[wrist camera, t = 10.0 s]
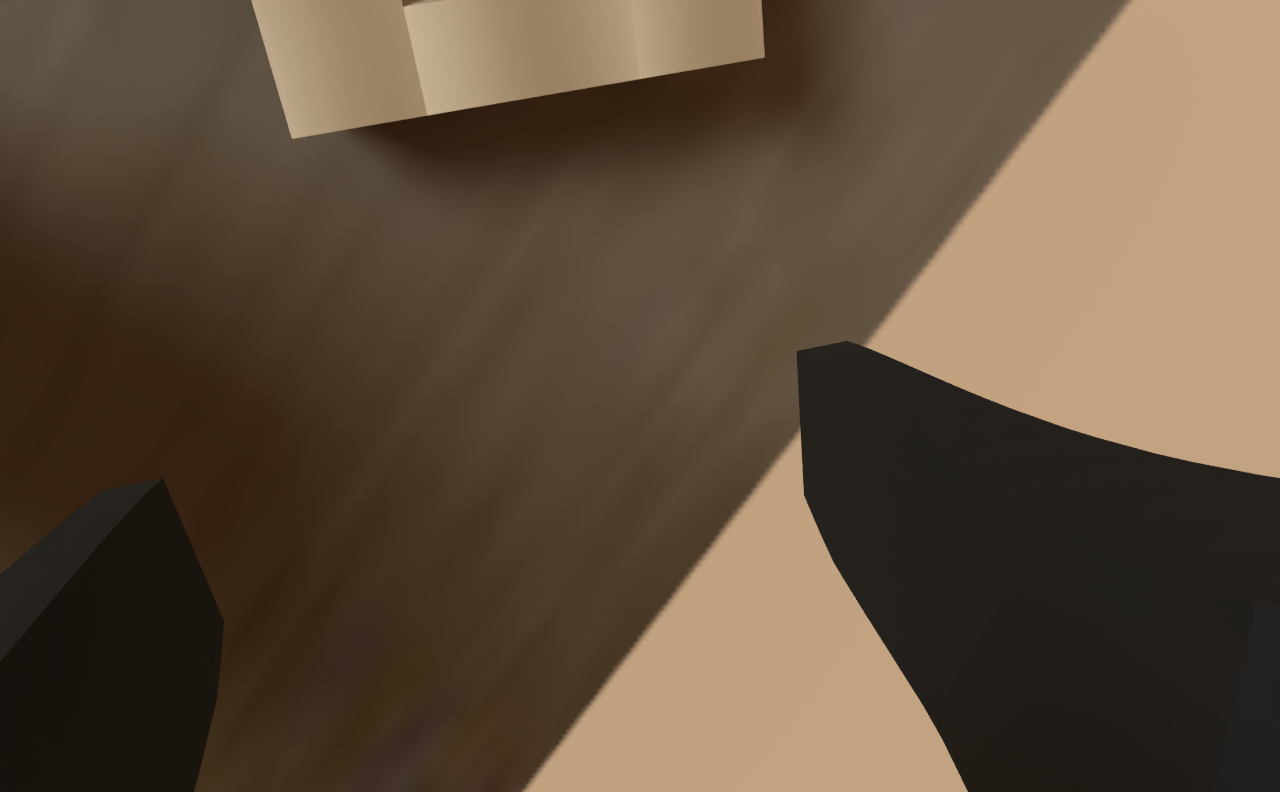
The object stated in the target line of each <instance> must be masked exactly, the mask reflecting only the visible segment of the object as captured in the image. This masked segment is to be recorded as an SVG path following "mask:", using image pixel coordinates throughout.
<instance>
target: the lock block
mask: <svg viewBox="0 0 1280 792" xmlns="http://www.w3.org/2000/svg"><path fill="white" fill-rule="evenodd" d="M251 1H252V4H253V7H254V11H255V14H256V18H257V21H258V24H259V28H260V31H261V35H262V38H263V41H264V45H265V48H266V52H267V55H268V58H269V62H270V65H271V69H272V72H273V75H274V79H275V82H276V86H277V89H278V92H279V96H280V99H281V103H282V106H283V109H284V113H285V116H286V120H287V123H288V126H289V130H290V133H291V137H292V139H294V138H299V137H305V136H311V135H317V134H323V133H328V132H334V131H340V130H346V129H352V128H358V127H363V126H369V125H375V124H381V123H387V122H393V121H398V120H404V119H410V118H416V117H422V116H427V115H433V114H439V113H445V112H451V111H457V110H462V109H468V108H474V107H480V106H486V105H491V104H497V103H503V102H509V101H515V100H521V99H526V98H532V97H538V96H544V95H550V94H555V93H561V92H567V91H573V90H579V89H585V88H590V87H596V86H602V85H608V84H614V83H620V82H625V81H631V80H637V79H643V78H649V77H654V76H660V75H666V74H672V73H678V72H684V71H689V70H695V69H701V68H707V67H713V66H718V65H724V64H730V63H736V62H742V61H748V60H753V59H759V58H765V54H764V37H763V19H762V2H761V0H251Z"/></svg>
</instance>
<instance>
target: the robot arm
mask: <svg viewBox="0 0 1280 792" xmlns="http://www.w3.org/2000/svg"><path fill="white" fill-rule="evenodd" d="M797 368H798V387H799V406H800V426H801V445H802V463H803V483H804V496H805V499H806V501H807V503H808V506H809V508H810V510H811V513H812V515H813V517H814V520H815V522H816V524H817V527H818V529H819V531H820V533H821V535H822V538H823V540H824V542H825V544H826V547H827V548H828V551H829V553H830V555H831V558H832V560H833V562H834V564H835V565H836V567H837V568H838V570H839V572H840V574H841V575H842V577H843V579H844V580H845V582H846V583H847V585H848V587H849V588H850V590H851V592H852V593H853V595H854V596H855V598H856V600H857V601H858V603H859V604H860V606H861V608H862V609H863V611H864V612H865V614H866V616H867V617H868V619H869V620H870V622H871V623H872V625H873V627H874V628H875V630H876V631H877V633H878V635H879V636H880V638H881V639H882V641H883V643H884V644H885V646H886V647H887V649H888V650H889V652H890V653H891V655H892V657H893V658H894V660H895V662H896V663H897V665H898V666H899V668H900V670H901V671H902V673H903V674H904V676H905V677H906V679H907V681H908V682H909V684H910V685H911V687H912V689H913V690H914V692H915V693H916V695H917V696H918V698H919V699H920V701H921V703H922V704H923V706H924V708H925V710H926V711H927V713H928V715H929V716H930V718H931V720H932V722H933V724H934V725H935V727H936V729H937V731H938V732H939V734H940V736H941V738H942V740H943V741H944V743H945V746H946V747H947V750H948V752H949V754H950V756H951V758H952V760H953V762H954V764H955V766H956V768H957V770H958V772H959V774H960V776H961V778H962V780H963V782H964V785H965V787H966V788H967V790H968V792H1280V478H1275V477H1268V476H1263V475H1256V474H1252V473H1246V472H1241V471H1236V470H1231V469H1226V468H1220V467H1215V466H1210V465H1205V464H1200V463H1194V462H1189V461H1186V460H1181V459H1177V458H1172V457H1167V456H1164V455H1159V454H1155V453H1151V452H1148V451H1144V450H1140V449H1137V448H1133V447H1129V446H1125V445H1122V444H1118V443H1115V442H1111V441H1107V440H1104V439H1100V438H1096V437H1093V436H1090V435H1086V434H1083V433H1080V432H1077V431H1074V430H1070V429H1067V428H1064V427H1061V426H1058V425H1055V424H1053V423H1050V422H1047V421H1044V420H1041V419H1039V418H1036V417H1033V416H1030V415H1028V414H1025V413H1022V412H1019V411H1016V410H1013V409H1011V408H1008V407H1006V406H1003V405H1000V404H998V403H996V402H993V401H990V400H988V399H985V398H983V397H981V396H978V395H976V394H973V393H971V392H968V391H966V390H964V389H961V388H959V387H957V386H954V385H952V384H950V383H947V382H945V381H943V380H940V379H938V378H936V377H933V376H931V375H929V374H927V373H924V372H922V371H920V370H917V369H915V368H913V367H910V366H908V365H906V364H904V363H902V362H899V361H897V360H895V359H892V358H890V357H887V356H885V355H883V354H880V353H878V352H876V351H873V350H871V349H868V348H866V347H863V346H861V345H858V344H855V343H852V342H848V341H845V342H840V343H835V344H830V345H825V346H820V347H815V348H810V349H805V350H800V351H797ZM223 624H224V620H223V618H222V616H221V613H220V611H219V609H218V606H217V604H216V601H215V599H214V597H213V594H212V592H211V590H210V587H209V585H208V583H207V580H206V578H205V576H204V573H203V571H202V569H201V566H200V564H199V562H198V559H197V557H196V555H195V552H194V550H193V548H192V545H191V543H190V541H189V538H188V536H187V534H186V531H185V529H184V527H183V524H182V522H181V520H180V517H179V515H178V513H177V510H176V508H175V505H174V503H173V501H172V498H171V496H170V494H169V491H168V489H167V487H166V484H165V482H164V480H163V478H162V479H157V480H152V481H147V482H142V483H137V484H132V485H127V486H122V487H117V488H112V489H107V490H104V491H103V492H101V493H100V494H98V495H97V496H95V497H94V498H92V499H91V500H90V501H88V502H87V503H86V504H84V505H83V506H82V507H80V508H79V509H78V510H77V511H75V512H74V513H73V514H71V515H70V516H69V517H68V518H67V519H65V520H64V521H63V522H62V523H61V524H59V525H58V526H57V527H56V528H55V529H53V530H52V531H51V532H50V533H49V534H47V535H46V536H45V537H44V538H43V539H42V540H40V541H39V542H38V543H37V544H36V545H35V546H33V547H32V548H31V549H30V550H29V551H28V552H26V553H25V554H24V555H23V556H22V557H20V558H19V559H18V560H17V561H16V562H15V563H13V564H12V565H11V566H10V567H9V568H8V569H6V570H5V571H4V572H3V573H2V574H1V575H0V792H194V790H195V786H196V782H197V778H198V774H199V770H200V766H201V762H202V758H203V754H204V750H205V746H206V742H207V738H208V734H209V730H210V726H211V721H212V717H213V713H214V708H215V704H216V699H217V690H218V681H219V672H220V663H221V650H222V637H223Z"/></svg>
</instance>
